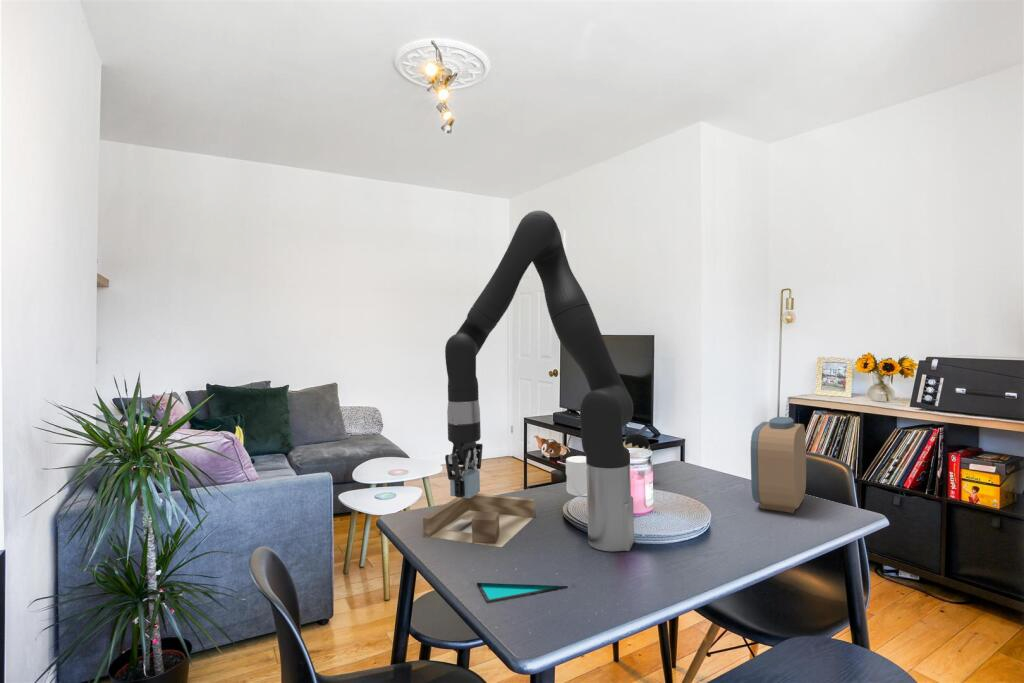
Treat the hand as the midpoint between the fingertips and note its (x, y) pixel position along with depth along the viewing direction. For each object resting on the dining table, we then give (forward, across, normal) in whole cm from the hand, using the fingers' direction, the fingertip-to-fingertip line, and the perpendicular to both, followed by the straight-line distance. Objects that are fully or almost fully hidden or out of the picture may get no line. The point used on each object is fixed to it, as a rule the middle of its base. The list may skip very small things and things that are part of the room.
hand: (465, 492), depth 122 cm
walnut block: (+8, +5, +8) cm, 12 cm away
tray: (+9, -2, +3) cm, 10 cm away
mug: (+9, -37, +17) cm, 42 cm away
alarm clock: (+9, -43, +67) cm, 80 cm away
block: (0, 0, 0) cm, 0 cm away
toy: (+9, -49, +30) cm, 58 cm away
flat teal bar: (+9, +20, +22) cm, 31 cm away
